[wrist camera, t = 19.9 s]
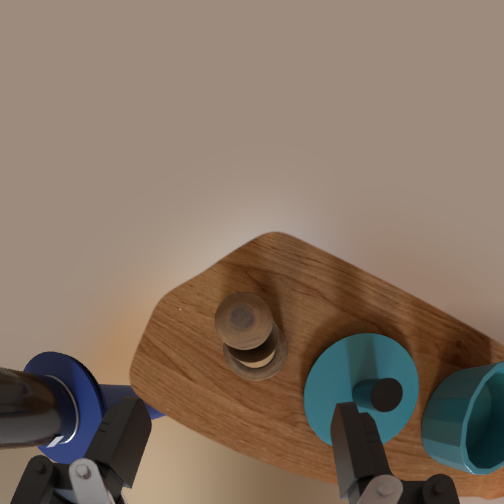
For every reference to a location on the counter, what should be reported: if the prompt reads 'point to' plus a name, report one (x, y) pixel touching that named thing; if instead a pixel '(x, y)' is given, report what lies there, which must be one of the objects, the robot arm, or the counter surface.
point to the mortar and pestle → (250, 336)
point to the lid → (362, 383)
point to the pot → (467, 420)
